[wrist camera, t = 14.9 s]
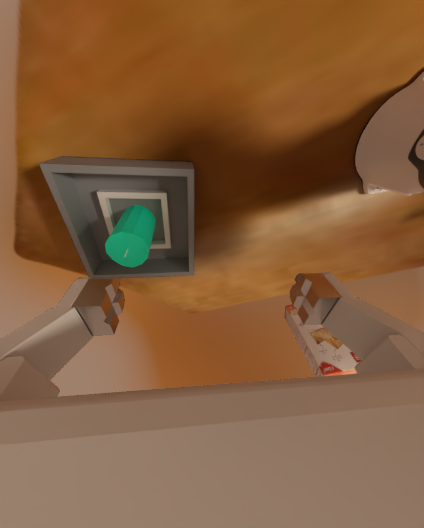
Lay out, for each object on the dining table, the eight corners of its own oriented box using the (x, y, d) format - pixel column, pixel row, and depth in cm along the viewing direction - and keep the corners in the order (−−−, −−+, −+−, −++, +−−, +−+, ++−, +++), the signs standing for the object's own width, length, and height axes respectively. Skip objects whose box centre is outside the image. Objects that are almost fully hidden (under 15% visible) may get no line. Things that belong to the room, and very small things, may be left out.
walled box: (192, 161, 32) (194, 169, 27) (192, 258, 44) (194, 275, 39) (61, 156, 29) (38, 163, 25) (100, 261, 41) (89, 279, 37)
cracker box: (328, 294, 59) (385, 363, 43) (325, 307, 63) (376, 374, 46) (284, 304, 59) (324, 376, 43) (283, 316, 63) (319, 386, 47)
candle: (158, 233, 38) (151, 271, 29) (128, 235, 38) (110, 275, 28) (152, 203, 34) (141, 236, 25) (117, 206, 34) (93, 240, 24)
